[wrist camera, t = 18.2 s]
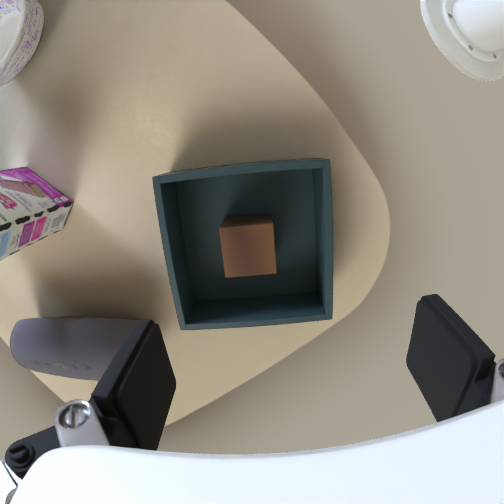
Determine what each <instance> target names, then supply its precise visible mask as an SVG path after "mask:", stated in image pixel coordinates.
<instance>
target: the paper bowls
mask: <svg viewBox="0 0 504 504" xmlns="http://www.w3.org/2000/svg"><path fill="white" fill-rule="evenodd" d="M43 20H44V15H43V9H42V7H41V5H40V3H39V2H37V1H36V0H0V87H1V86H3V85H5V84H7V83H8V82H10V81H11V80H12V79H13V78H15V76H16V75H17V74H18V73H19V72H20V71H21V70H22V69H23V67H24V66H25V65H26V64H27V63H28V61H29V60H30V59H31V57H32V56H33V54H34V52H35V50H36V48H37V46H38V44H39V41H40V37H41V32H42V28H43Z"/></svg>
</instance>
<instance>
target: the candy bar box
mask: <svg viewBox="0 0 504 504" xmlns="http://www.w3.org/2000/svg"><path fill="white" fill-rule="evenodd" d="M72 205H73V201H72V200H71V199H69V198H68V197H66V196H65V195H64V194H62V193H61V192H59V191H58V190H57V189H55V188H54V187H52V186H51V185H50V184H48V183H47V182H46V181H45V180H43V179H42V178H40V177H39V176H38V175H37V174H35V173H34V172H33V171H31V170H30V169H29V168H28V167H21V168H14V169H8V170H2V171H0V260H2V259H4V258H6V257H7V256H9V255H11V254H13V253H15V252H17V251H19V250H21V249H23V248H25V247H27V246H28V245H31V244H33V243H35V242H37V241H39V240H41V239H43V238H45V237H47V236H49V235H51V234H53V233H55V232H58V231H60V230H62V229H63V228H64V225H65V223H66V220H67V217H68V215H69V212H70V210H71V208H72Z"/></svg>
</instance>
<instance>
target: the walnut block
mask: <svg viewBox="0 0 504 504" xmlns="http://www.w3.org/2000/svg"><path fill="white" fill-rule="evenodd" d="M219 232H220V240H221V248H222V256H223V263H224V271H225V277H226V278H228V277H241V276H254V275H266V274H276V273H277V268H276V254H275V240H274V226H273V220H272V216H271V213H261V214H249V215H238V216H227V217H224V219H223V221H222V223H221V225H220V227H219Z"/></svg>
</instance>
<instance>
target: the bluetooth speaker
mask: <svg viewBox="0 0 504 504" xmlns="http://www.w3.org/2000/svg"><path fill="white" fill-rule="evenodd" d="M136 321H137V320H129V319H112V318H89V317H71V316H66V317H65V316H64V317H48V318H30V319H24V320H20V321H18V322H17V323H16V324H15V326H14V328H13V330H12V333H11V338H10V349H11V352H12V355H13V357H14V359H15V360H16V362H17V363H18V364H19V365H21V366H23V367H25V368H28V369H30V370H34V371H37V372H42V373H46V374H51V375H56V376H62V377H68V378H76V379H85V380H97V381H100V379H101V377H102V376H103V374H104V372H105V371H106V369H107V367H108V366H109V364H110V362H111V361H112V359H113V357H114V356H115V354H116V352H117V351H118V349H119V348H120V346H121V344H122V343H123V341H124V340H125V338H126V336H127V335H128V333H129V332H130V330H131V329H132V327H133V325H134V324H135V322H136Z"/></svg>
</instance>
